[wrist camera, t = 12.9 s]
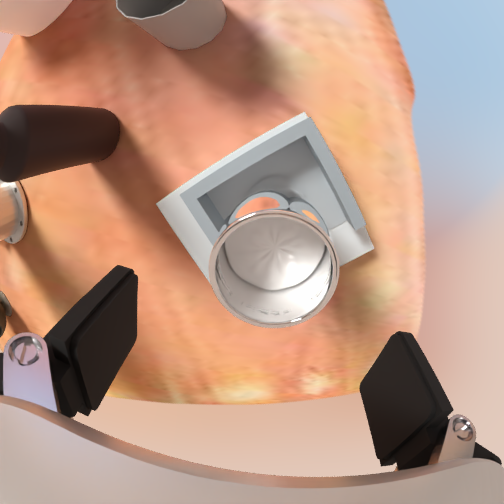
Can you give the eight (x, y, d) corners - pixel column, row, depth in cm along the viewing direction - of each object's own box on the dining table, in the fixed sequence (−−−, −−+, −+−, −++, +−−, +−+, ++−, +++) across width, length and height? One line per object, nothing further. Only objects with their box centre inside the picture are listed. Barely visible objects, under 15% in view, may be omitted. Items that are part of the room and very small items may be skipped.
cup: (241, 21, 22) (225, -23, 13) (181, 63, 25) (142, 35, 15) (199, -16, 20) (173, -58, 11) (145, 24, 23) (102, -6, 13)
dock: (237, 305, 35) (230, 334, 30) (164, 199, 31) (141, 211, 25) (367, 240, 31) (384, 261, 25) (302, 114, 26) (308, 107, 21)
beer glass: (227, 212, 28) (179, 283, 14) (269, 157, 26) (260, 174, 12) (281, 252, 29) (282, 350, 15) (324, 201, 27) (371, 265, 13)
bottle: (75, 154, 29) (-51, 187, 11) (87, 105, 27) (-44, 106, 8) (113, 167, 30) (-22, 210, 11) (127, 113, 27) (-14, 110, 9)
